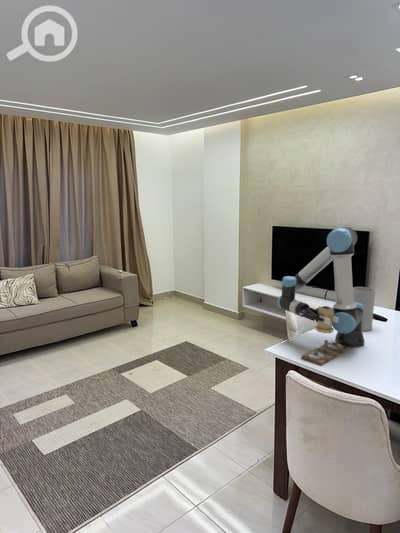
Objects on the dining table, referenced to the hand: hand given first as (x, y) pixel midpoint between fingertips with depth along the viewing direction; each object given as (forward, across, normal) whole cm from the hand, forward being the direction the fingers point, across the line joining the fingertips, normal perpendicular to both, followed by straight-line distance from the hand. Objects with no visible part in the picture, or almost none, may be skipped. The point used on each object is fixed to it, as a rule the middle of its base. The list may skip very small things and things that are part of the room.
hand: (333, 321), depth 183 cm
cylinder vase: (-23, -53, -20) cm, 61 cm away
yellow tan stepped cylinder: (-5, 0, -7) cm, 8 cm away
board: (-4, -1, -20) cm, 20 cm away
